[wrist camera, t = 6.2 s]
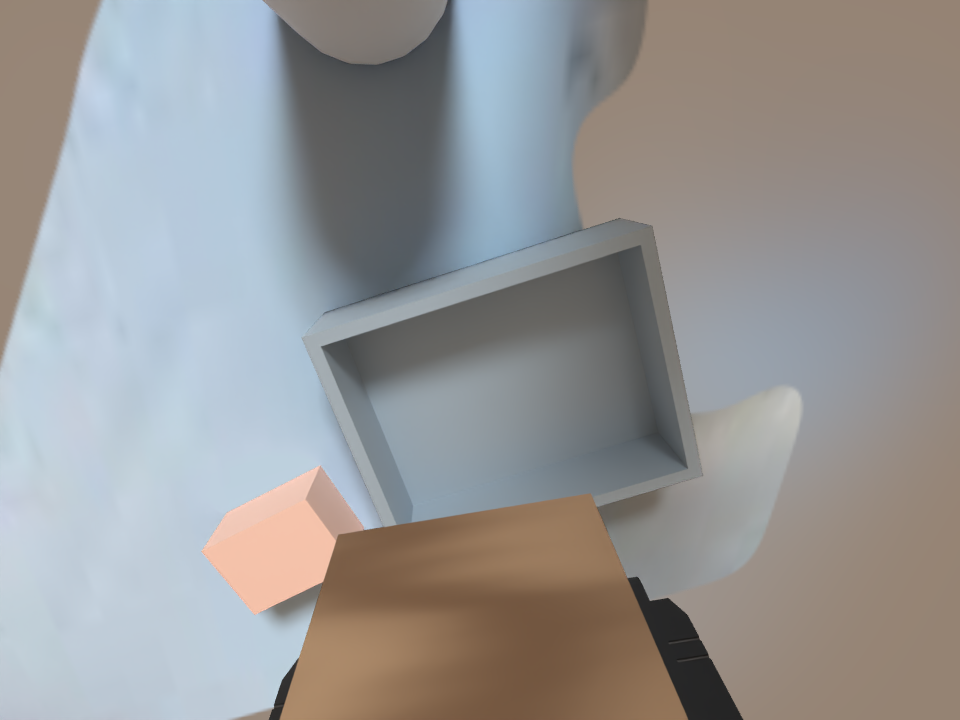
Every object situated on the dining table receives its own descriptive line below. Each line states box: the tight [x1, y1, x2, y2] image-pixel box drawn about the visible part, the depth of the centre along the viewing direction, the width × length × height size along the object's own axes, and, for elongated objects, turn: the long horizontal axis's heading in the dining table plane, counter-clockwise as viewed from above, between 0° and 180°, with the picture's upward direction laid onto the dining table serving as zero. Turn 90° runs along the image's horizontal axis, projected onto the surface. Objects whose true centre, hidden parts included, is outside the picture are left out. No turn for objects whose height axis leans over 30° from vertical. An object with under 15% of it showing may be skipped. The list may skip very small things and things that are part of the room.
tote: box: [302, 218, 703, 527], centre depth 26 cm, size 12×15×4 cm
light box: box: [201, 466, 364, 615], centre depth 29 cm, size 4×6×4 cm
